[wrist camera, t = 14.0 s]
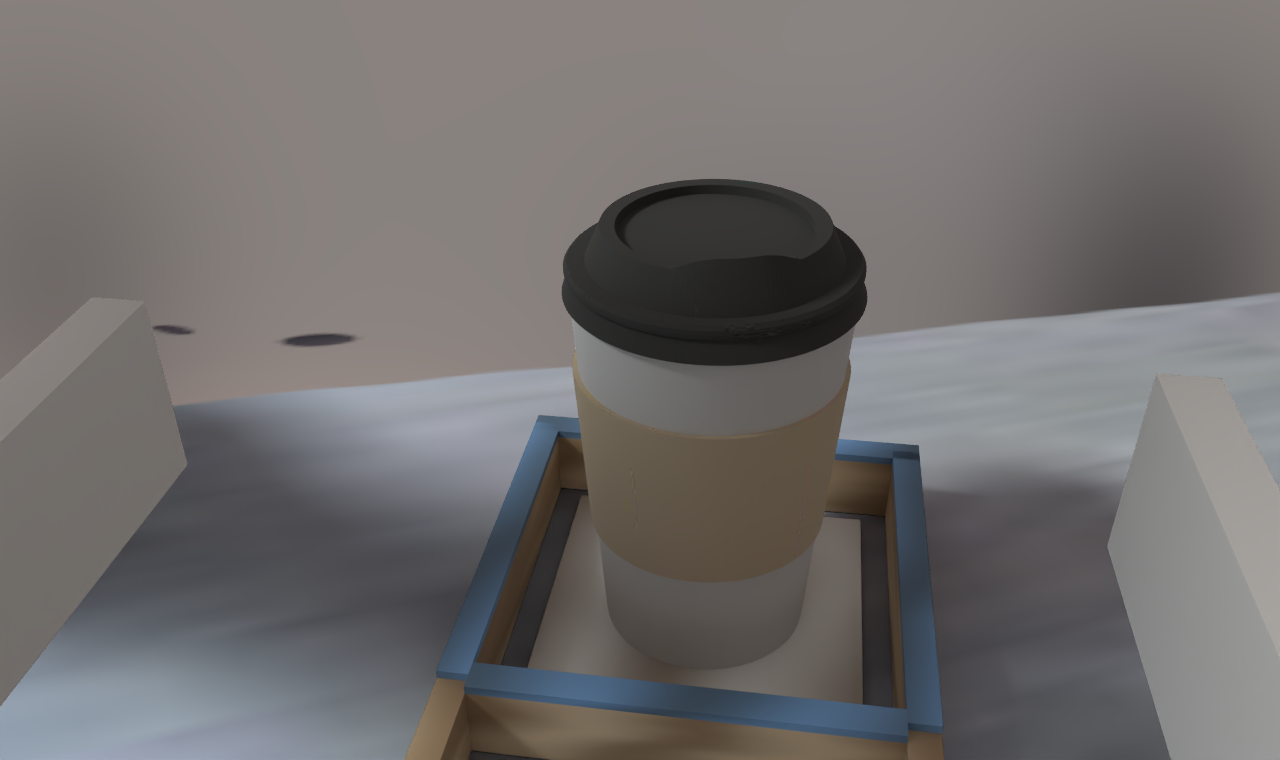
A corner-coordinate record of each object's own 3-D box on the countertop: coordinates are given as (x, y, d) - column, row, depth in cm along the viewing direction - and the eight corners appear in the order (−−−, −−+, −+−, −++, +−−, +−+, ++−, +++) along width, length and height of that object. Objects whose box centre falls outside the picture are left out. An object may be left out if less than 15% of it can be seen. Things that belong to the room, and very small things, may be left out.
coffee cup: (566, 531, 45) (546, 160, 37) (795, 508, 46) (825, 143, 38) (591, 711, 37) (573, 293, 29) (866, 679, 38) (921, 267, 30)
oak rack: (256, 1242, 25) (230, 1181, 24) (542, 471, 48) (538, 415, 47) (972, 1372, 23) (995, 1312, 22) (909, 502, 47) (918, 445, 45)
